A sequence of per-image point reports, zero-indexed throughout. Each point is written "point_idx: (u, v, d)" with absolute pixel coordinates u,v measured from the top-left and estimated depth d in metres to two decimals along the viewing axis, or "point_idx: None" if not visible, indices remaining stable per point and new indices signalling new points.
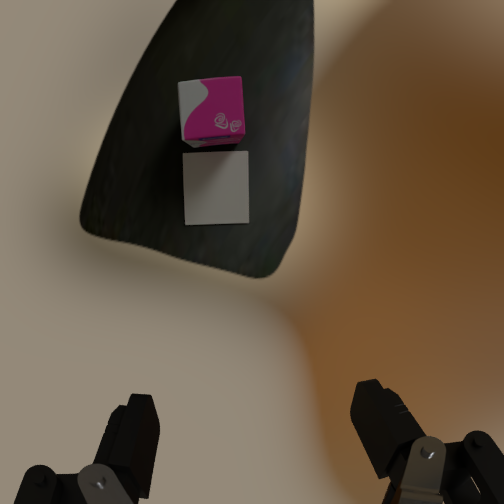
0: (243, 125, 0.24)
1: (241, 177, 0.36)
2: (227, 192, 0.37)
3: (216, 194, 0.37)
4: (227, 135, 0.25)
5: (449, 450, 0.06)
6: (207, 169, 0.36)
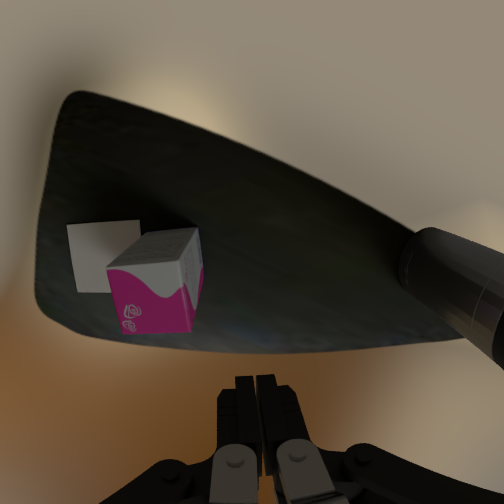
0: (131, 333, 0.21)
1: None
2: (102, 270, 0.30)
3: (98, 259, 0.30)
4: (118, 316, 0.21)
5: (331, 459, 0.07)
6: (123, 248, 0.30)
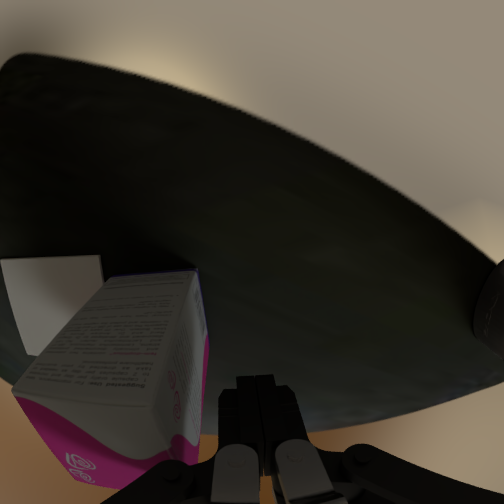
0: (89, 482, 0.08)
1: None
2: (53, 329, 0.18)
3: (46, 313, 0.17)
4: None
5: (330, 459, 0.07)
6: (78, 300, 0.17)
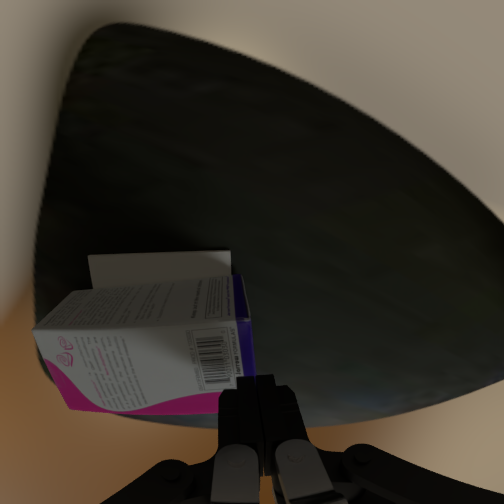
0: None
1: None
2: None
3: None
4: None
5: (330, 459, 0.07)
6: None
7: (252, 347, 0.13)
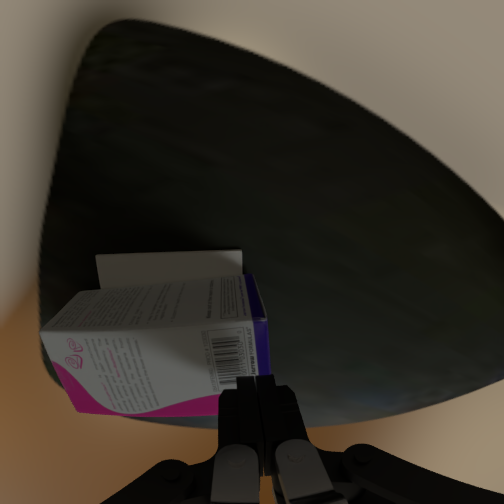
0: None
1: None
2: None
3: None
4: None
5: (330, 459, 0.07)
6: None
7: (268, 347, 0.13)
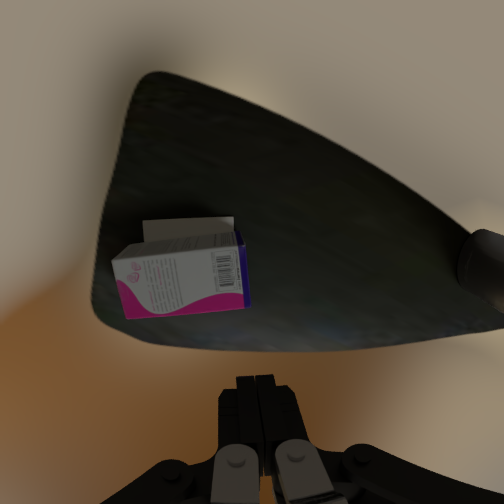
0: None
1: None
2: None
3: None
4: None
5: (330, 459, 0.07)
6: None
7: (246, 262, 0.24)
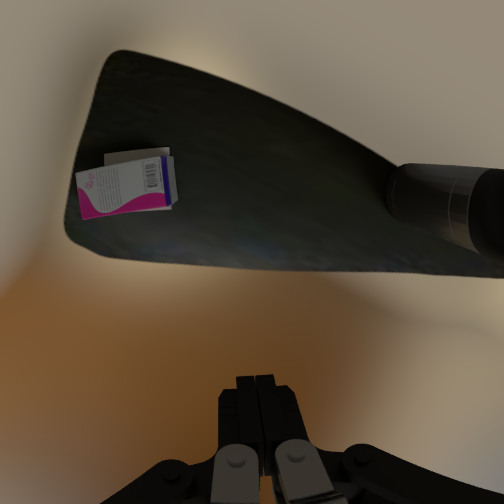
0: None
1: None
2: None
3: None
4: None
5: (330, 459, 0.07)
6: None
7: (166, 168, 0.31)
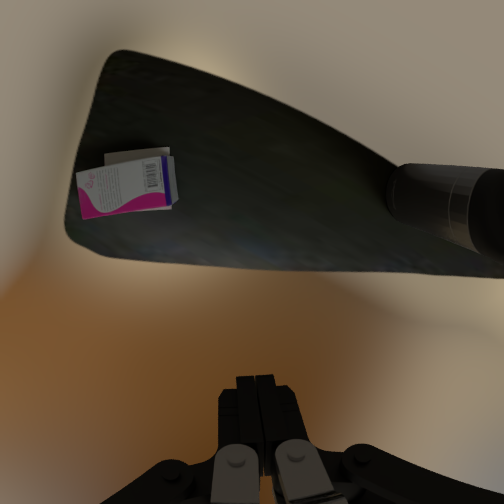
0: None
1: None
2: None
3: None
4: None
5: (330, 459, 0.07)
6: None
7: (166, 168, 0.31)
